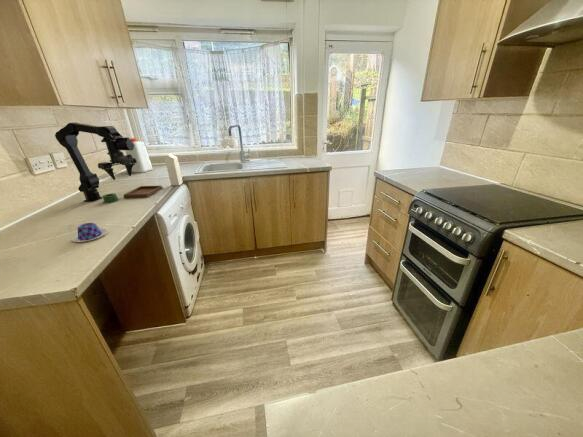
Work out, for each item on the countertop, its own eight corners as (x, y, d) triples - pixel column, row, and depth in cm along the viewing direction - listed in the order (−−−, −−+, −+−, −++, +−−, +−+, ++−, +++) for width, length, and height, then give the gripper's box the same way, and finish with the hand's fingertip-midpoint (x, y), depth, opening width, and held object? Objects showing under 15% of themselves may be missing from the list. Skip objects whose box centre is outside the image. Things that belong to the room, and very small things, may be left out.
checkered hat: (67, 246, 95) (62, 234, 93) (78, 233, 105) (73, 222, 103) (104, 239, 99) (99, 228, 97) (110, 228, 110) (106, 217, 107)
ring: (102, 202, 142) (100, 197, 140) (109, 199, 148) (107, 193, 146) (113, 202, 142) (111, 196, 140) (120, 198, 148) (118, 193, 146)
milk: (171, 185, 172) (163, 153, 163) (174, 183, 177) (167, 152, 168) (179, 185, 172) (172, 153, 163) (183, 183, 177) (176, 152, 168)
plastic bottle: (155, 169, 224) (146, 137, 213) (142, 173, 211) (133, 139, 199) (141, 168, 227) (132, 137, 216) (128, 172, 214) (117, 139, 203)
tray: (124, 197, 149) (123, 194, 148) (141, 189, 166) (140, 186, 165) (147, 197, 149) (146, 194, 148) (162, 188, 166) (161, 185, 165)
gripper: (106, 153, 124) (115, 183, 130) (139, 148, 140) (146, 175, 146) (92, 152, 128) (102, 181, 134) (126, 147, 144) (134, 173, 150)
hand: (122, 178), depth 141 cm, fingers open, 9 cm apart
